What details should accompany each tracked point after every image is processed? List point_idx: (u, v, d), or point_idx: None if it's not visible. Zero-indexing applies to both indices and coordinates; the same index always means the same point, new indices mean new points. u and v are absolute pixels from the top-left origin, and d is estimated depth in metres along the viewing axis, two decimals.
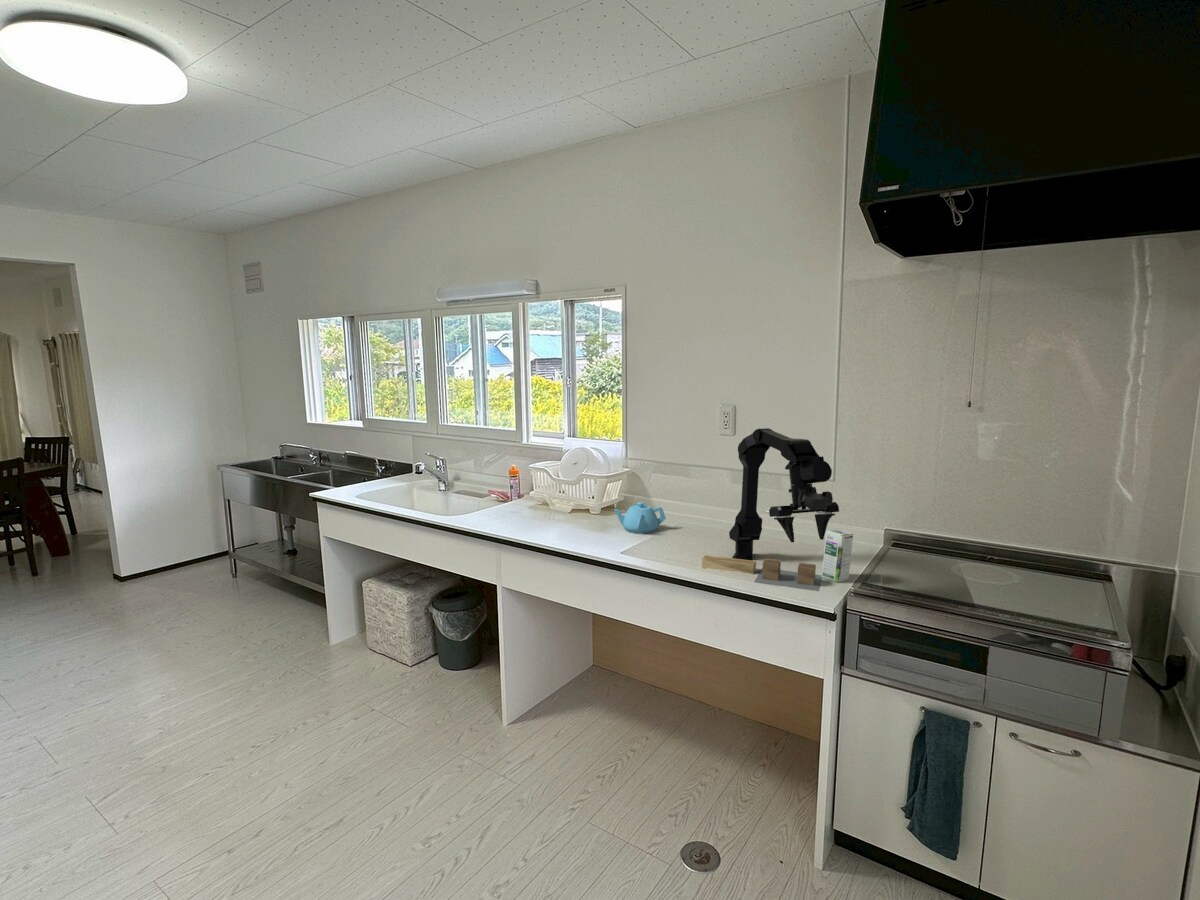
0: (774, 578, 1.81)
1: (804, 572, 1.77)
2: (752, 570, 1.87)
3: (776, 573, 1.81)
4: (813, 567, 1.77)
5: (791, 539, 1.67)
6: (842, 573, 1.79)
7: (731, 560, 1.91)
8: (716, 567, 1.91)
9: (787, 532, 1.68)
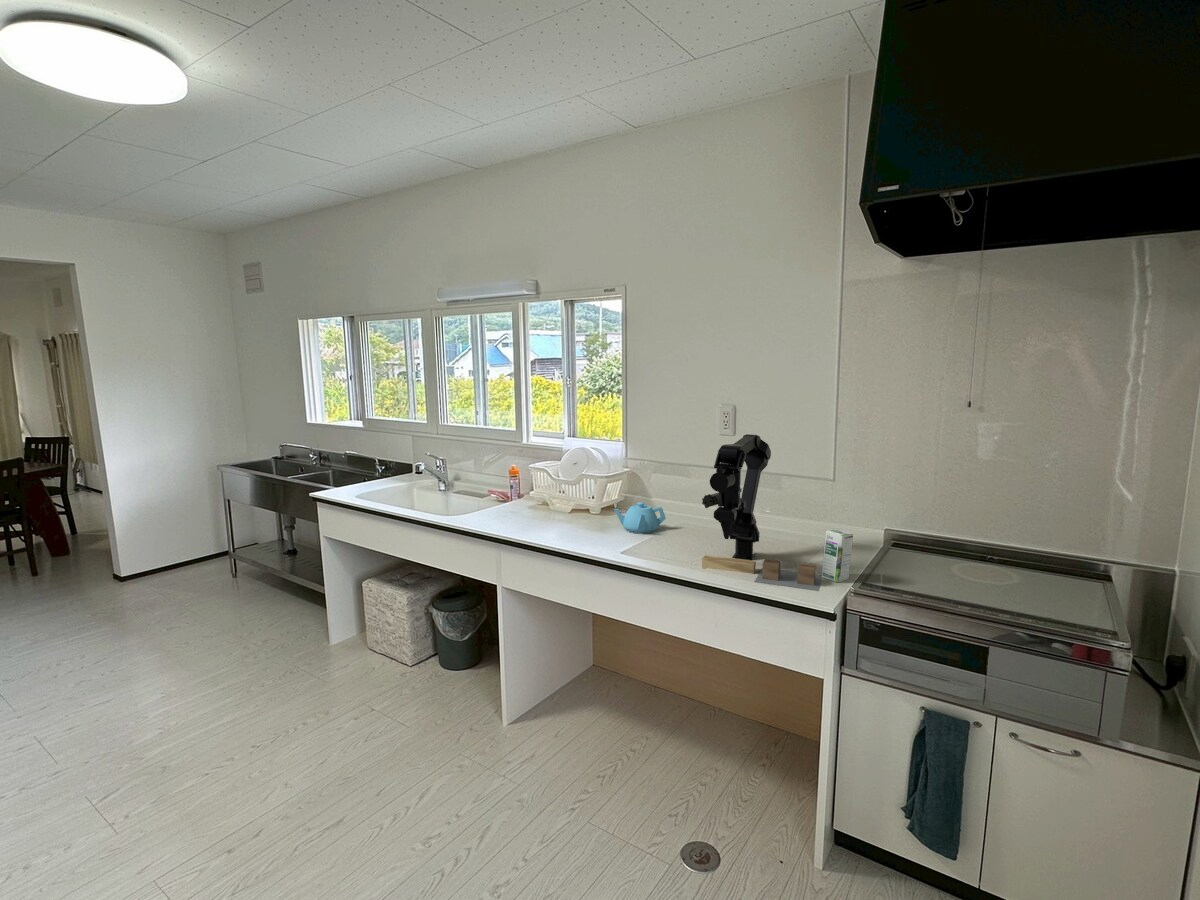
0: (774, 578, 1.81)
1: (804, 572, 1.77)
2: (752, 570, 1.87)
3: (776, 573, 1.81)
4: (813, 567, 1.77)
5: None
6: (842, 573, 1.79)
7: (731, 560, 1.91)
8: (716, 567, 1.91)
9: None
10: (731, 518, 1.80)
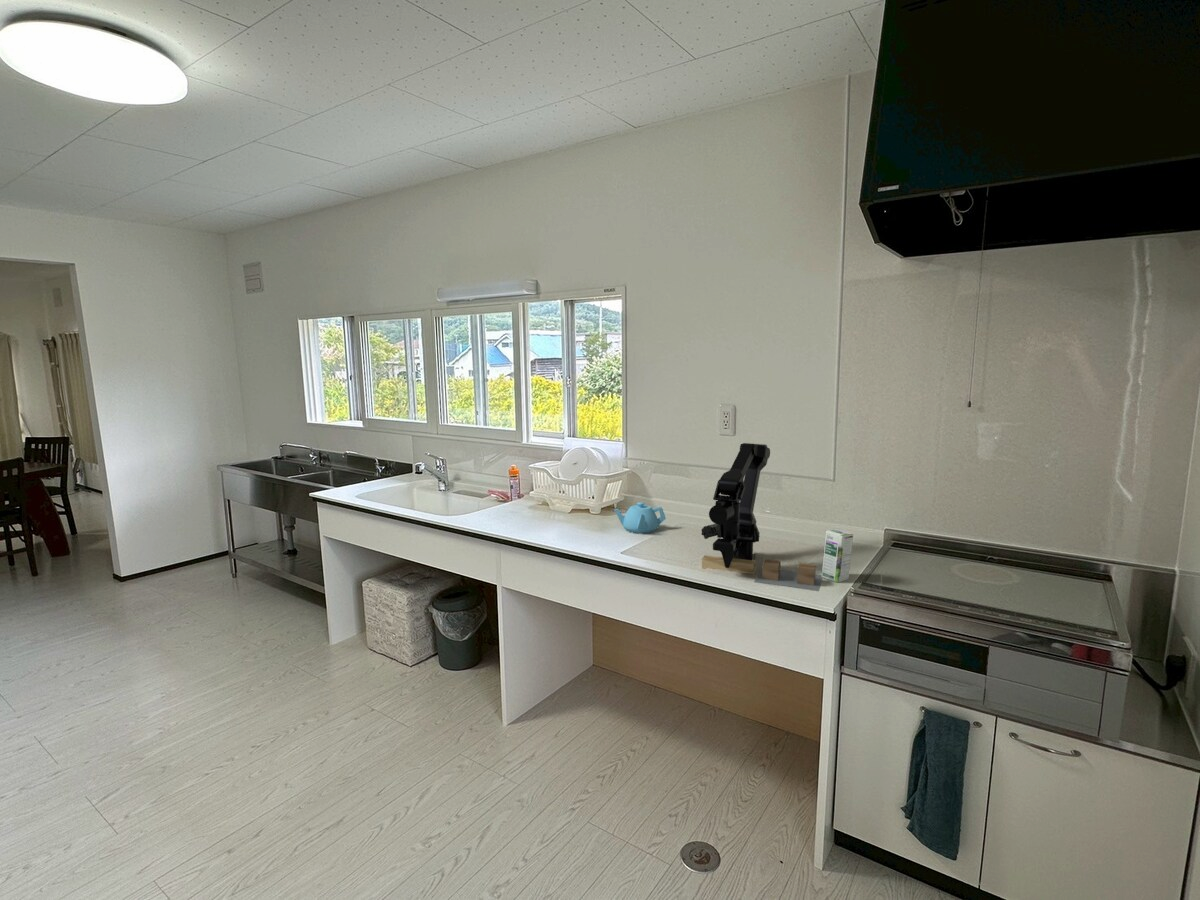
0: (774, 578, 1.81)
1: (804, 572, 1.77)
2: (752, 570, 1.87)
3: (776, 573, 1.81)
4: (813, 567, 1.77)
5: None
6: (842, 573, 1.79)
7: None
8: (716, 567, 1.91)
9: None
10: (730, 550, 1.81)
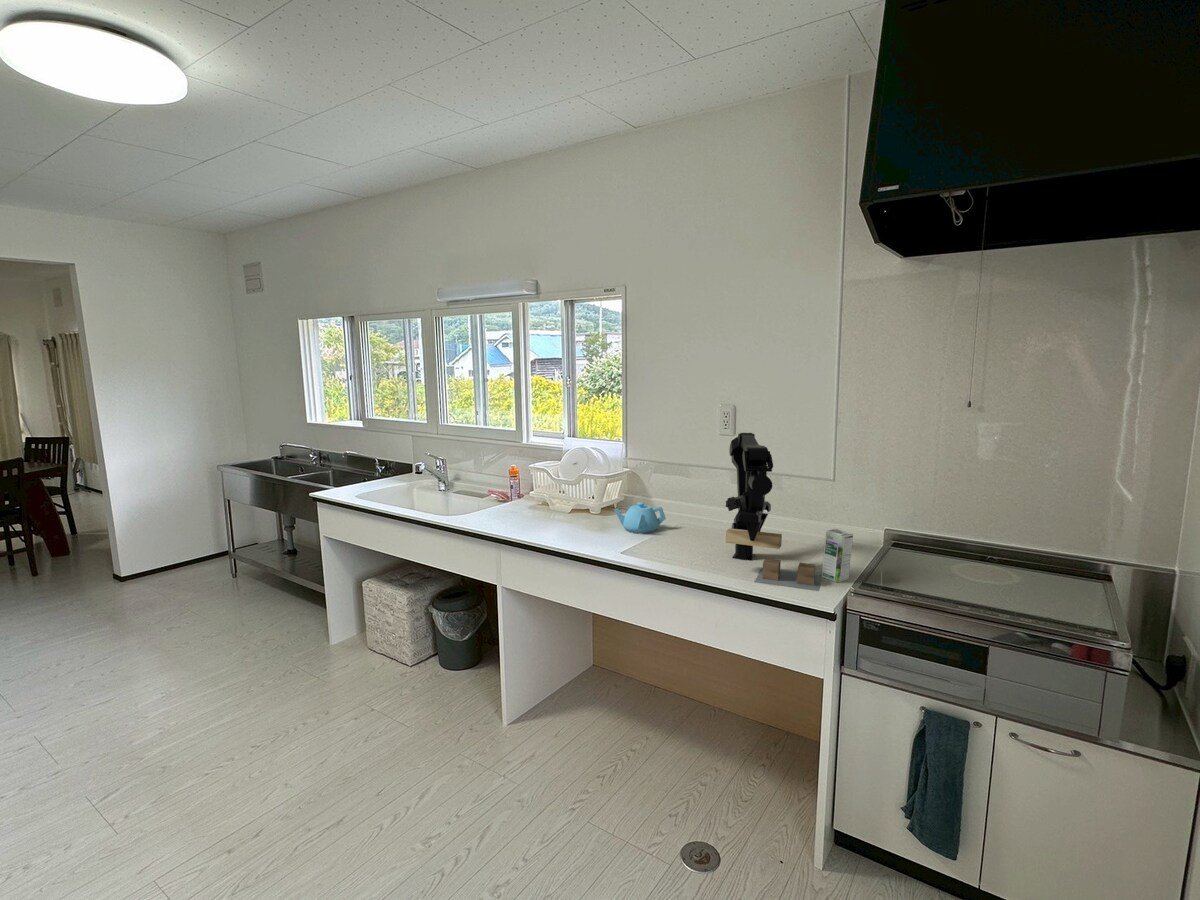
0: (774, 578, 1.81)
1: (804, 572, 1.77)
2: (778, 543, 1.81)
3: (776, 573, 1.81)
4: (813, 567, 1.77)
5: None
6: (842, 573, 1.79)
7: None
8: (740, 540, 1.86)
9: None
10: (755, 521, 1.75)
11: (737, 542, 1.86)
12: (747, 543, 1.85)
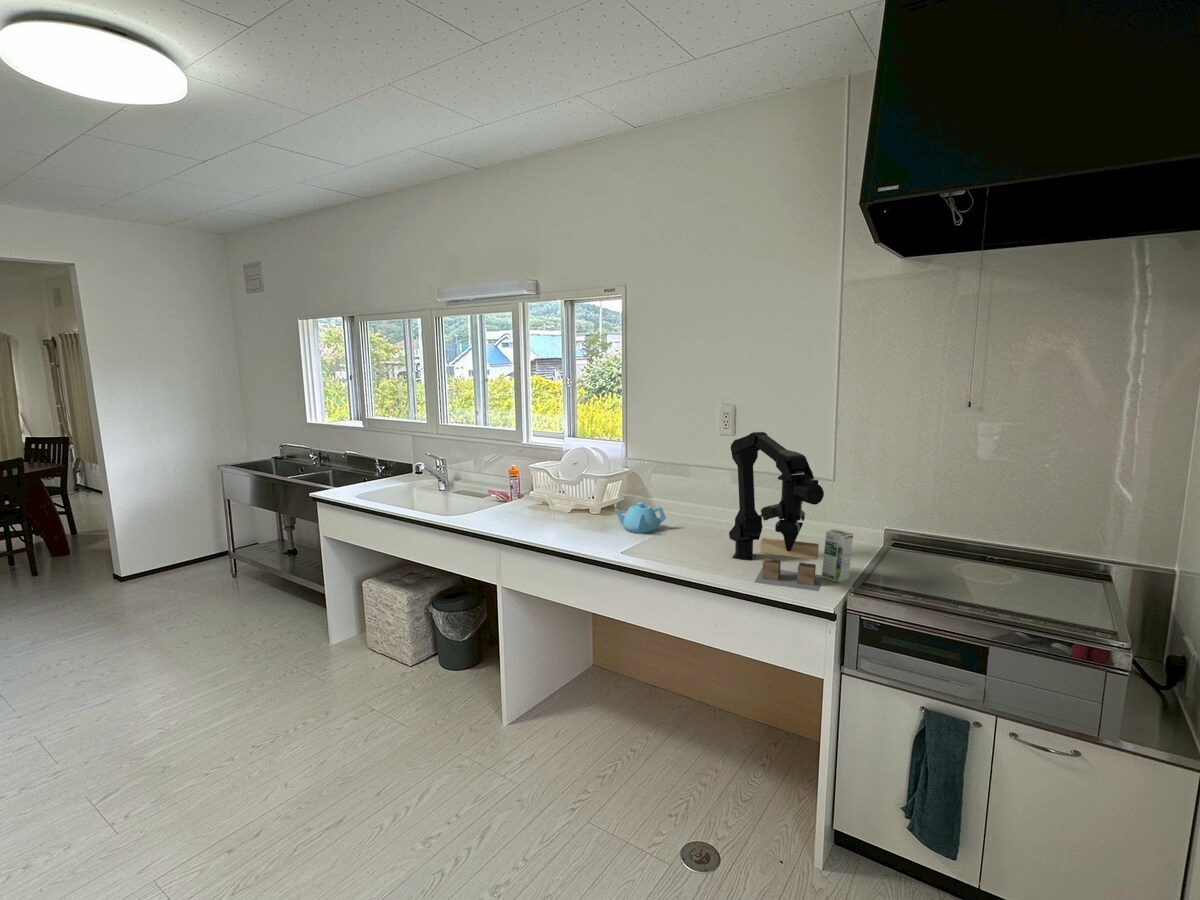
0: (774, 578, 1.81)
1: (804, 572, 1.77)
2: (816, 553, 1.76)
3: (776, 573, 1.81)
4: (813, 567, 1.77)
5: None
6: (842, 573, 1.79)
7: None
8: (776, 550, 1.80)
9: None
10: (795, 532, 1.70)
11: (772, 552, 1.80)
12: (783, 553, 1.79)
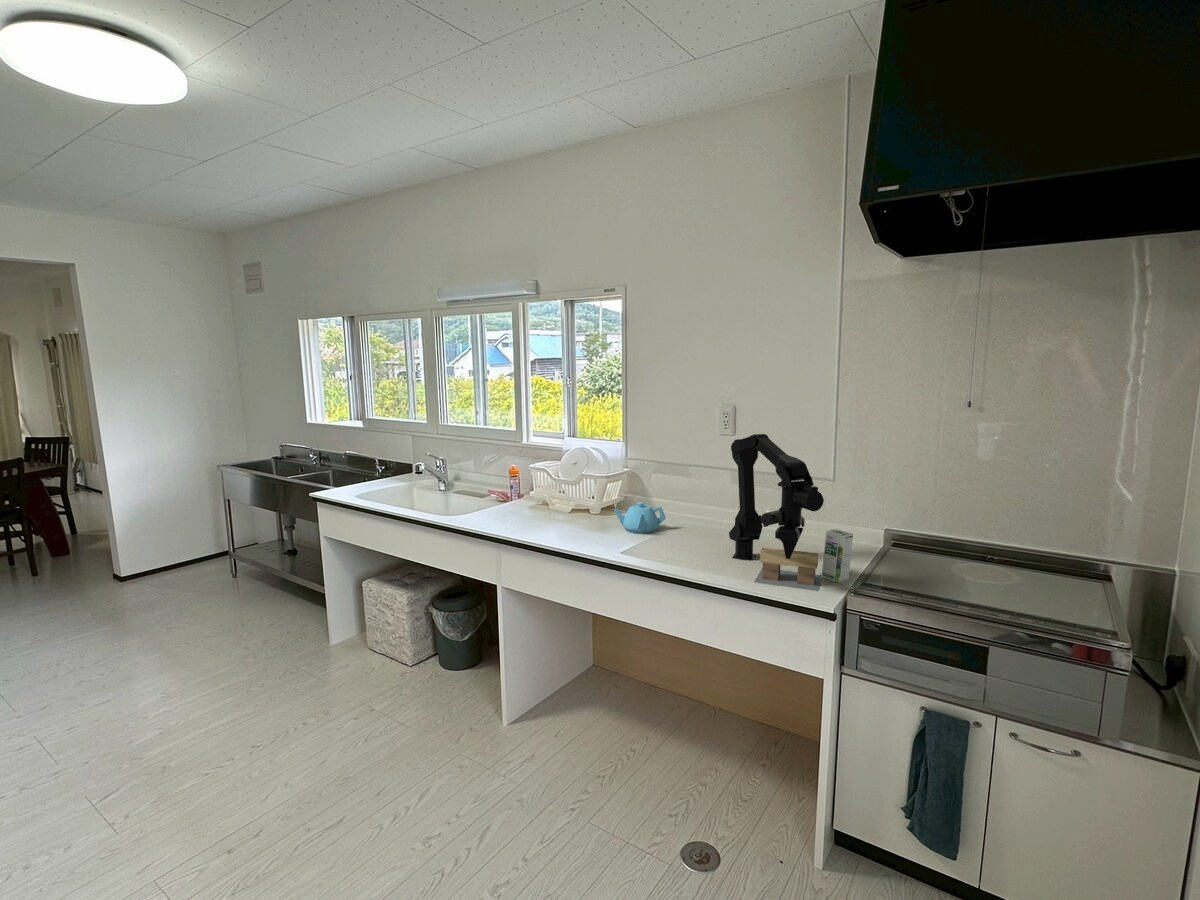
0: (774, 578, 1.81)
1: (804, 572, 1.77)
2: (815, 563, 1.76)
3: (776, 573, 1.81)
4: None
5: None
6: (842, 573, 1.79)
7: None
8: (776, 560, 1.80)
9: None
10: (795, 538, 1.70)
11: (772, 562, 1.81)
12: (783, 563, 1.80)
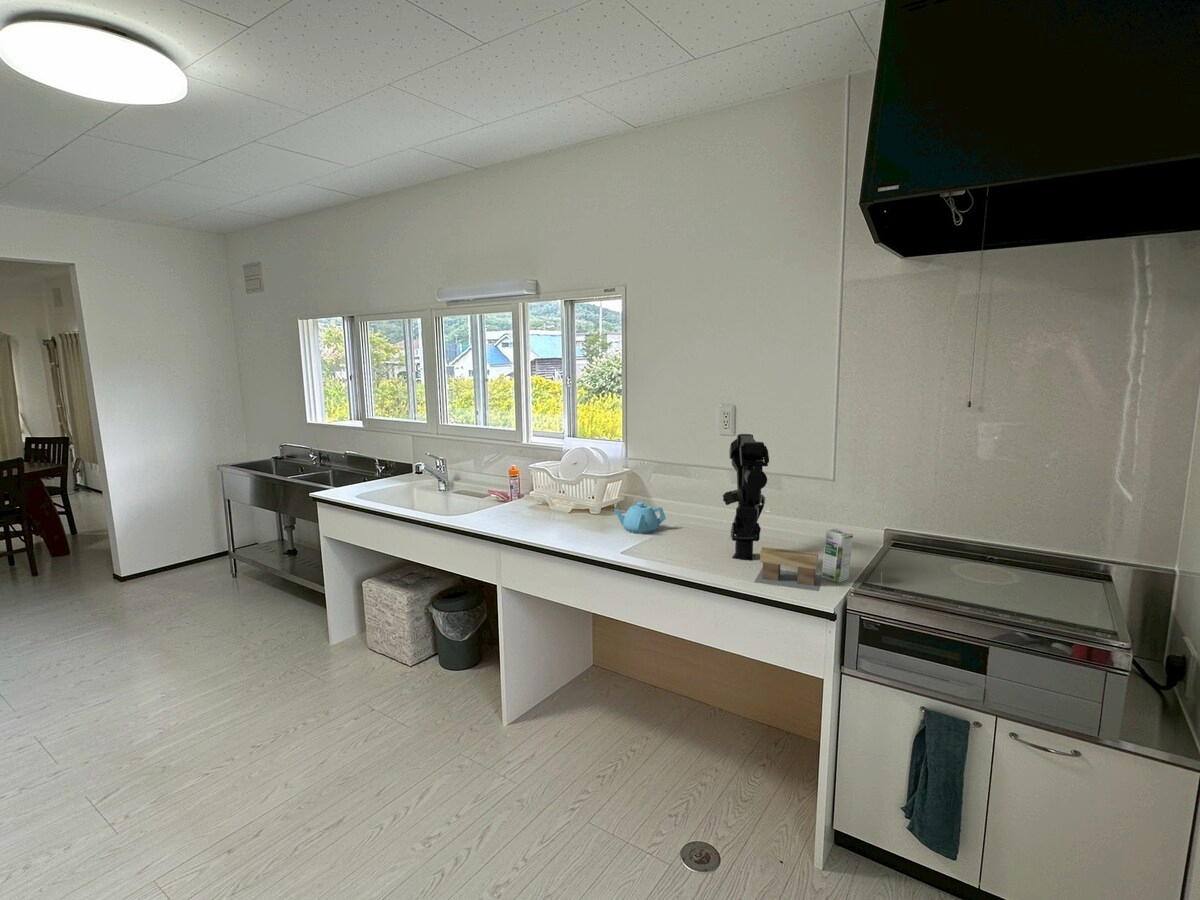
0: (774, 578, 1.81)
1: (804, 572, 1.77)
2: (815, 563, 1.76)
3: (776, 573, 1.81)
4: None
5: None
6: (842, 573, 1.79)
7: (792, 552, 1.80)
8: (776, 560, 1.80)
9: None
10: (754, 515, 1.79)
11: (772, 562, 1.81)
12: (783, 563, 1.80)
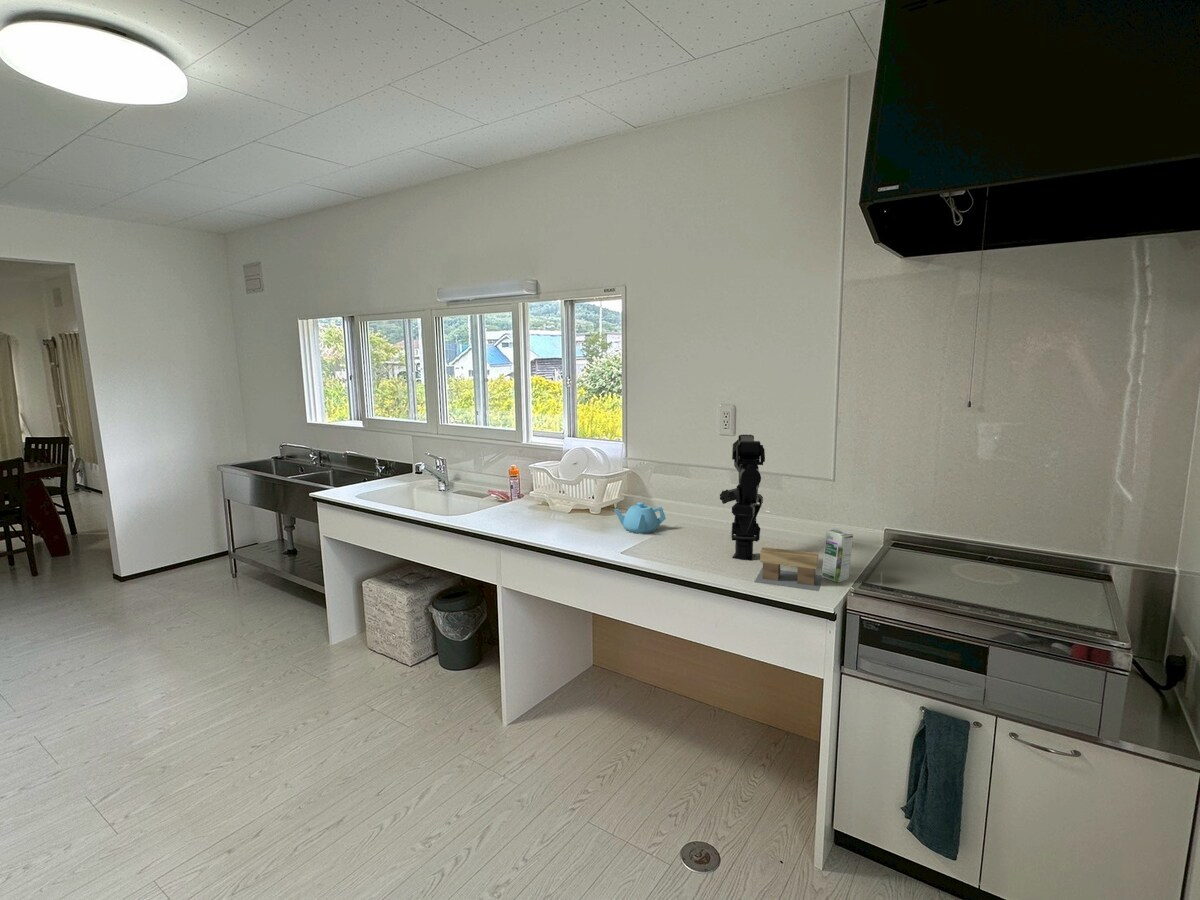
0: (774, 578, 1.81)
1: (804, 572, 1.77)
2: (815, 563, 1.76)
3: (776, 573, 1.81)
4: None
5: None
6: (842, 573, 1.79)
7: (792, 552, 1.80)
8: (776, 560, 1.80)
9: None
10: (749, 513, 1.79)
11: (772, 562, 1.81)
12: (783, 563, 1.80)
